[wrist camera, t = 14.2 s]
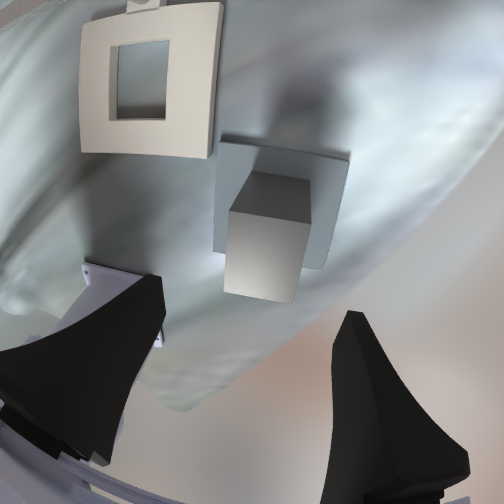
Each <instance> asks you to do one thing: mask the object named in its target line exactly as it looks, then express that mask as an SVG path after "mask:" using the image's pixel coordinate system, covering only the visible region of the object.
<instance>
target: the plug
mask: <svg viewBox="0 0 504 504" xmlns="http://www.w3.org/2000/svg"><path fill="white" fill-rule="evenodd" d="M311 225H312V221H311V195H310V180H305V179H300V178H294V177H288V176H282V175H276V174H269V173H263V172H256V171H251V173H250V174H249V176H248V178H247V179H246V181H245V183H244V185H243V186H242V188H241V190H240V192H239V193H238V195H237V197H236V199H235V200H234V202H233V204H232V206H231V207H230V209H229V211H228V227H227V243H226V260H225V279H224V292H229V293H234V294H240V295H245V296H250V297H256V298H261V299H267V300H272V301H278V302H284V303H290V304H293V301H294V297H295V293H296V289H297V285H298V281H299V277H300V273H301V269H302V264H303V260H304V256H305V252H306V247H307V243H308V239H309V234H310V230H311Z"/></svg>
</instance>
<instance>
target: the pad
mask: <svg viewBox="0 0 504 504" xmlns="http://www.w3.org/2000/svg"><path fill="white" fill-rule="evenodd" d="M348 167H349V161H348V160H343V159H338V158H333V157H328V156H323V155H318V154H312V153H307V152H301V151H295V150H289V149H282V148H276V147H269V146H261V145H254V144H245V143H237V142H227V141H219V142H218V149H217V166H216V186H215V209H214V238H213V252H217V253H223V254H226V243H227V227H228V211H229V209H230V207H231V206H232V204H233V202H234V200H235V199H236V197H237V195H238V193H239V192H240V190H241V188H242V186H243V185H244V183H245V181H246V179H247V178H248V176H249V174H250V173H251V171H256V172H263V173H269V174H276V175H282V176H288V177H294V178H300V179H305V180H310V195H311V221H312V225H311V230H310V234H309V239H308V243H307V247H306V252H305V256H304V260H303V264H302V267H304V268H310V269H316V270H322V271H323V267H324V264H325V260H326V256H327V253H328V249H329V245H330V242H331V238H332V234H333V230H334V226H335V222H336V219H337V214H338V210H339V206H340V202H341V198H342V194H343V189H344V185H345V181H346V176H347V172H348Z"/></svg>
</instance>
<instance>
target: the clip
mask: <svg viewBox="0 0 504 504" xmlns="http://www.w3.org/2000/svg"><path fill="white" fill-rule="evenodd" d="M65 1H67V0H15V1H13V2H12V3H10V4H9V5H7V6H6V7H4V8H3V9H1V10H0V35H1V34H3V33H4V32H6V31H8V30H9V29H11V28H13V27H14V26H16V25H18V24H20V23H21V22H23V21H25V20H27V19H29V18H31V17H33V16H35V15H37V14H39V13H41V12H43V11H45V10H47V9H49V8H51V7H53V6H56V5H58V4H60V3H62V2H65Z"/></svg>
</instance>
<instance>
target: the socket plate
mask: <svg viewBox="0 0 504 504" xmlns="http://www.w3.org/2000/svg"><path fill="white" fill-rule="evenodd" d="M127 1H128V2H127V10H126V13H123V14H119V15H114V16H110V17H106V18H102V19H99V20H95V21H92V22H88V23H85V24H82V34H81V45H80V62H79V123H80V140H81V153H129V154H150V155H166V156H180V157H192V158H202V159H207V158H209V157H210V156H211V155H212V138H213V122H214V107H215V94H216V81H217V70H218V59H219V48H220V38H221V29H222V20H223V12H224V5H223V4H222V3H220V2H204V3H190V4H179V5H170V6H167V0H127ZM165 40H170V47H169V60H168V75H167V93H166V118H123V119H117V69H118V52H119V46H125V45H132V44H139V43H146V42H155V41H165Z"/></svg>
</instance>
